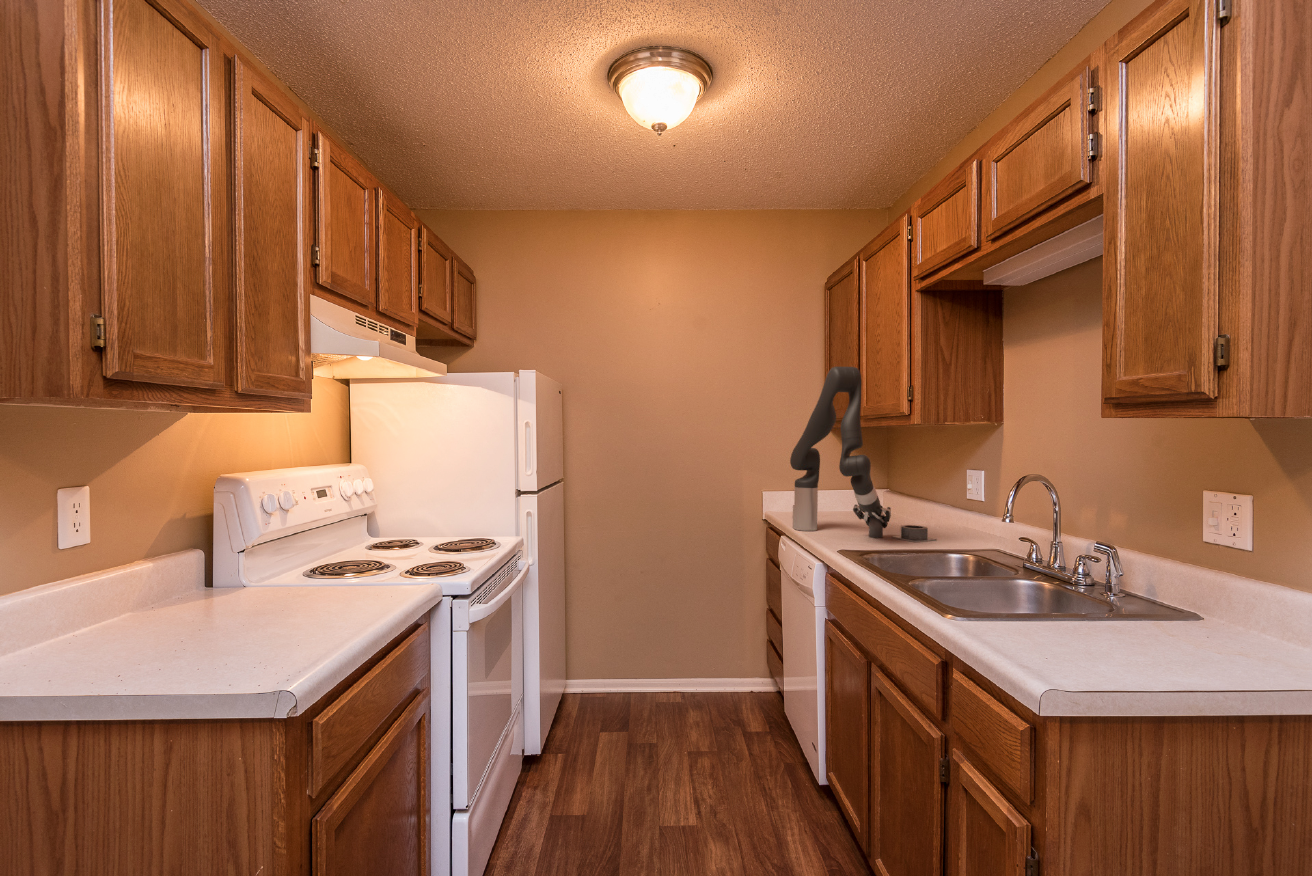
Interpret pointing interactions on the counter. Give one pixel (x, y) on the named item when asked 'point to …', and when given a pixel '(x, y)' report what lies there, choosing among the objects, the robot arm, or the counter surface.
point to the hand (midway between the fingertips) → (877, 525)
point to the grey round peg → (875, 527)
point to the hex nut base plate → (914, 533)
